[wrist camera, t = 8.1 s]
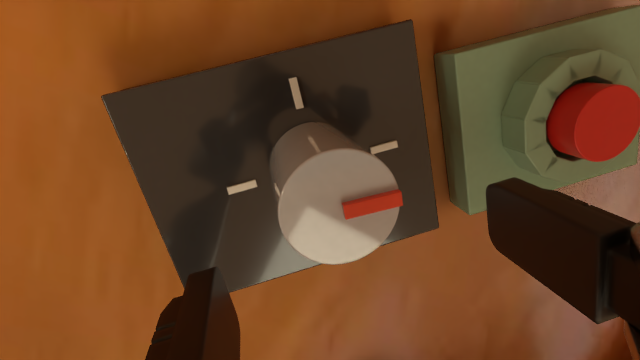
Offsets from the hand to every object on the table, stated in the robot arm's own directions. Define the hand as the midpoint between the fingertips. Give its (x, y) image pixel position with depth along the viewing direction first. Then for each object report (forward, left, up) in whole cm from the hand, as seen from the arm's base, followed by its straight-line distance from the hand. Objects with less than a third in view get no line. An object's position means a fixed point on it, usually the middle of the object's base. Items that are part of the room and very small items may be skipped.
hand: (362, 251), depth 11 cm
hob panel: (-1, 0, -11) cm, 11 cm away
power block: (+14, -1, -11) cm, 17 cm away
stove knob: (0, 0, -8) cm, 8 cm away
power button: (+14, -1, -7) cm, 15 cm away
